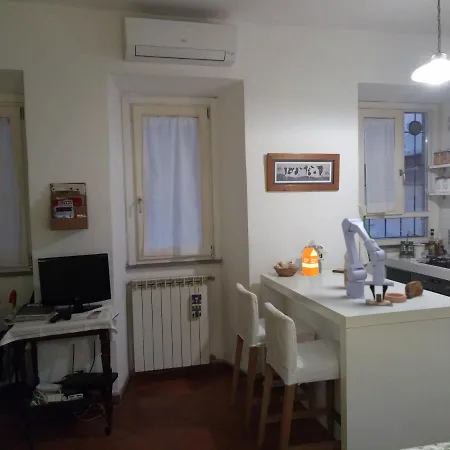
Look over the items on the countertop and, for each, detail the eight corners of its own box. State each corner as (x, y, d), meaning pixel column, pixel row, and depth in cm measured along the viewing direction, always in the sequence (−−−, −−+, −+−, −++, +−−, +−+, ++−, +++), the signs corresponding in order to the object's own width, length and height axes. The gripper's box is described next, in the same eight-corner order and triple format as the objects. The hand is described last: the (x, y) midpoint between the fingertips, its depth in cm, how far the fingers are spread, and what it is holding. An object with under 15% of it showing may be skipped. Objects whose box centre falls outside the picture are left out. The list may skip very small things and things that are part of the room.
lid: (367, 304, 205) (367, 296, 205) (367, 299, 215) (367, 291, 215) (390, 306, 201) (390, 297, 201) (389, 300, 211) (389, 292, 211)
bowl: (384, 302, 210) (383, 296, 209) (383, 297, 220) (383, 292, 220) (407, 303, 206) (407, 297, 206) (405, 298, 216) (405, 293, 216)
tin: (409, 299, 214) (409, 284, 213) (403, 298, 216) (403, 283, 216) (424, 295, 223) (423, 280, 222) (418, 294, 225) (418, 279, 225)
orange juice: (310, 275, 294) (309, 248, 293) (302, 274, 301) (301, 247, 301) (318, 274, 298) (317, 247, 297) (310, 273, 305) (309, 246, 304)
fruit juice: (341, 288, 248) (340, 242, 247) (351, 286, 254) (350, 241, 252) (353, 290, 241) (352, 243, 239) (363, 288, 246) (362, 242, 244)
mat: (365, 305, 204) (365, 305, 204) (365, 300, 217) (365, 299, 216) (392, 307, 200) (392, 306, 200) (392, 301, 212) (392, 300, 212)
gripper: (363, 274, 206) (363, 300, 207) (393, 275, 201) (394, 302, 202) (363, 272, 213) (364, 297, 213) (393, 272, 208) (393, 299, 208)
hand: (378, 299), depth 208 cm, fingers open, 3 cm apart
